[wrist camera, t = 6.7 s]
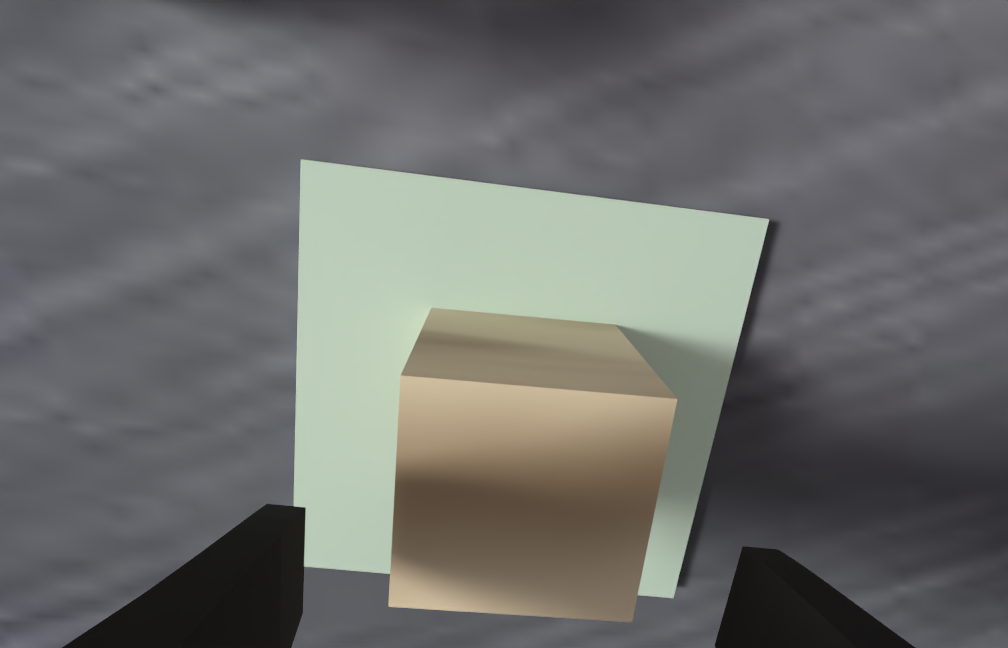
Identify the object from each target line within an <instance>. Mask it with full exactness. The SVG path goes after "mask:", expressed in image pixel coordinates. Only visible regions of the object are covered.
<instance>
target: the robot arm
mask: <svg viewBox="0 0 1008 648" xmlns="http://www.w3.org/2000/svg"><path fill="white" fill-rule="evenodd" d="M305 515H306V507H295V506H283V505H272V504H266V505H265V506H263V507H262V508H261V509H259V510H258V511H256V512H255V513H254V514H252V515H251V516H250V517H248V518H247V519H246V520H244V521H243V522H241V523H240V524H239V525H237V526H236V527H235V528H233V529H232V530H231V531H229V532H228V533H227V534H225V535H224V536H223V537H221V538H220V539H218V540H217V541H216V542H214V543H213V544H212V545H210V546H209V547H208V548H206V549H205V550H204V551H202V552H201V553H200V554H198V555H197V556H195V557H194V558H193V559H191V560H190V561H189V562H187V563H186V564H184V565H183V566H182V567H180V568H179V569H177V570H176V571H175V572H173V573H172V574H171V575H169V576H168V577H166V578H165V579H164V580H162V581H161V582H159V583H158V584H157V585H155V586H154V587H152V588H151V589H150V590H148V591H147V592H145V593H144V594H142V595H141V596H139V597H138V598H136V599H135V600H133V601H132V602H130V603H129V604H127V605H126V606H124V607H123V608H121V609H120V610H118V611H117V612H115V613H114V614H112V615H111V616H109V617H108V618H106V619H105V620H103V621H102V622H100V623H99V624H97V625H96V626H94V627H93V628H91V629H90V630H88V631H87V632H85V633H84V634H82V635H81V636H79V637H78V638H76V639H75V640H73V641H72V642H70V643H69V644H67V645H66V646H64V647H62V648H291V646H292V643H293V640H294V637H295V634H296V631H297V628H298V625H299V622H300V619H301V616H302V613H303V583H304V549H305ZM715 647H716V648H915V647H914V646H912V645H911V644H909V643H908V642H907V641H905V640H904V639H903V638H901V637H900V636H898V635H897V634H896V633H894V632H893V631H892V630H890V629H889V628H888V627H886V626H885V625H883V624H882V623H881V622H879V621H878V620H877V619H875V618H874V617H873V616H871V615H870V614H868V613H867V612H866V611H864V610H863V609H862V608H860V607H859V606H858V605H856V604H855V603H854V602H852V601H851V600H849V599H848V598H847V597H845V596H844V595H843V594H841V593H840V592H839V591H837V590H836V589H835V588H833V587H832V586H830V585H829V584H828V583H826V582H825V581H824V580H822V579H821V578H819V577H818V576H817V575H815V574H814V573H812V572H811V571H810V570H808V569H807V568H805V567H804V566H802V565H801V564H799V563H798V562H796V561H795V560H794V559H792V558H790V557H789V556H787V555H786V554H784V553H783V552H781V551H779V550H776V549H765V548H754V547H743V548H742V551H741V555H740V558H739V562H738V565H737V569H736V572H735V576H734V579H733V583H732V586H731V590H730V593H729V597H728V601H727V604H726V608H725V611H724V615H723V618H722V622H721V625H720V629H719V632H718V636H717V639H716V643H715Z"/></svg>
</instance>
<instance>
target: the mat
mask: <svg viewBox="0 0 1008 648" xmlns="http://www.w3.org/2000/svg"><path fill="white" fill-rule="evenodd" d="M768 223H769V219H764V218H758V217H750V216H742V215H734V214H727V213H719V212H711V211H703V210H695V209H688V208H680V207H672V206H664V205H656V204H648V203H641V202H633V201H625V200H617V199H609V198H601V197H594V196H586V195H578V194H570V193H562V192H554V191H547V190H539V189H531V188H523V187H515V186H508V185H500V184H492V183H484V182H476V181H468V180H461V179H453V178H445V177H437V176H429V175H421V174H414V173H406V172H398V171H390V170H382V169H375V168H367V167H359V166H351V165H343V164H335V163H328V162H320V161H312V160H302V159H301V177H300V226H299V274H298V323H297V371H296V420H295V468H294V506H295V507H306V515H305V549H304V566H305V567H317V568H328V569H340V570H352V571H363V572H375V573H387V574H390V568H391V549H392V529H393V510H394V491H395V472H396V452H397V433H398V414H399V394H400V375H401V373H402V371H403V369H404V367H405V364H406V362H407V360H408V358H409V356H410V353H411V351H412V349H413V347H414V345H415V342H416V340H417V338H418V336H419V334H420V331H421V329H422V327H423V325H424V323H425V320H426V318H427V316H428V314H429V312H430V310H431V308H441V309H452V310H463V311H473V312H484V313H495V314H506V315H517V316H528V317H539V318H550V319H560V320H571V321H582V322H593V323H604V324H615V325H616V326H617V327H618V328H619V330H620V331H621V332H622V333H623V334H624V336H625V337H626V338H627V339H628V340H629V342H630V343H631V344H632V345H633V346H634V348H635V349H636V350H637V351H638V352H639V354H640V355H641V356H642V357H643V358H644V360H645V361H646V362H647V363H648V364H649V366H650V367H651V368H652V369H653V370H654V372H655V373H656V374H657V375H658V376H659V378H660V379H661V380H662V381H663V382H664V384H665V385H666V386H667V387H668V388H669V390H670V391H671V392H672V393H673V394H674V396H675V397H676V398H677V404H676V409H675V414H674V419H673V424H672V428H671V433H670V438H669V443H668V448H667V453H666V458H665V463H664V468H663V473H662V478H661V483H660V487H659V492H658V497H657V502H656V507H655V512H654V517H653V522H652V527H651V532H650V537H649V541H648V546H647V551H646V556H645V561H644V566H643V571H642V576H641V581H640V586H639V591H638V595H643V596H654V597H666V598H674V594H675V590H676V586H677V582H678V578H679V574H680V570H681V566H682V562H683V558H684V554H685V550H686V546H687V542H688V538H689V534H690V531H691V527H692V523H693V519H694V515H695V511H696V507H697V503H698V499H699V495H700V491H701V487H702V483H703V479H704V475H705V471H706V467H707V463H708V460H709V456H710V452H711V448H712V444H713V440H714V436H715V432H716V428H717V424H718V420H719V416H720V412H721V408H722V404H723V400H724V396H725V392H726V388H727V385H728V381H729V377H730V373H731V369H732V365H733V361H734V357H735V353H736V349H737V345H738V341H739V337H740V333H741V329H742V325H743V321H744V317H745V314H746V310H747V306H748V302H749V298H750V294H751V290H752V286H753V282H754V278H755V274H756V270H757V266H758V262H759V258H760V254H761V250H762V246H763V243H764V239H765V235H766V231H767V227H768Z"/></svg>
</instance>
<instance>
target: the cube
mask: <svg viewBox="0 0 1008 648" xmlns="http://www.w3.org/2000/svg"><path fill="white" fill-rule="evenodd" d="M676 404H677V398H676V397H675V396H674V394H673V393H672V392H671V391H670V390H669V388H668V387H667V386H666V385H665V384H664V382H663V381H662V380H661V379H660V378H659V376H658V375H657V374H656V373H655V372H654V370H653V369H652V368H651V367H650V366H649V364H648V363H647V362H646V361H645V360H644V358H643V357H642V356H641V355H640V354H639V352H638V351H637V350H636V349H635V348H634V346H633V345H632V344H631V343H630V342H629V340H628V339H627V338H626V337H625V336H624V334H623V333H622V332H621V331H620V330H619V328H618V327H617V326H616V325H615V324H604V323H593V322H582V321H571V320H560V319H550V318H539V317H528V316H517V315H506V314H495V313H484V312H473V311H463V310H452V309H441V308H431V310H430V312H429V314H428V316H427V318H426V320H425V323H424V325H423V327H422V329H421V331H420V334H419V336H418V338H417V340H416V342H415V345H414V347H413V349H412V351H411V353H410V356H409V358H408V360H407V362H406V364H405V367H404V369H403V371H402V373H401V375H400V394H399V414H398V433H397V452H396V472H395V491H394V510H393V529H392V549H391V568H390V587H389V607H402V608H417V609H433V610H449V611H464V612H480V613H496V614H511V615H527V616H542V617H558V618H574V619H589V620H605V621H621V622H632V620H633V615H634V610H635V605H636V600H637V595H638V591H639V586H640V581H641V576H642V571H643V566H644V561H645V556H646V551H647V546H648V541H649V537H650V532H651V527H652V522H653V517H654V512H655V507H656V502H657V497H658V492H659V487H660V483H661V478H662V473H663V468H664V463H665V458H666V453H667V448H668V443H669V438H670V433H671V428H672V424H673V419H674V414H675V409H676Z"/></svg>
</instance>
